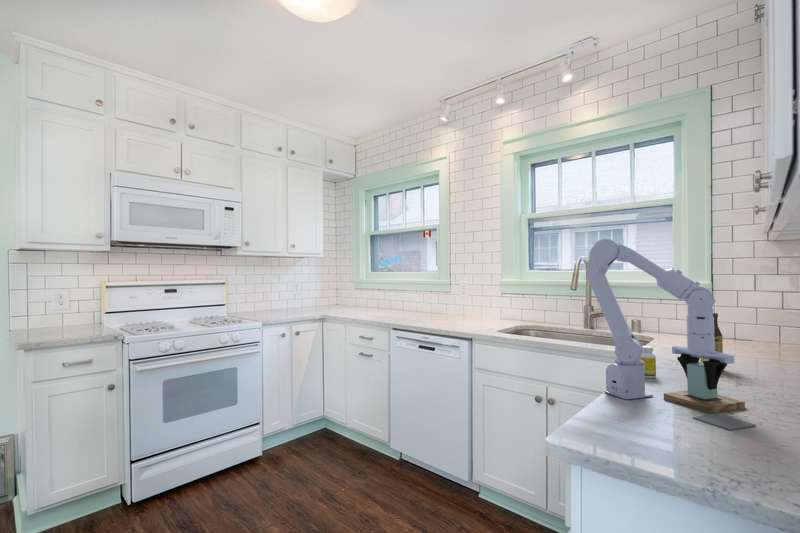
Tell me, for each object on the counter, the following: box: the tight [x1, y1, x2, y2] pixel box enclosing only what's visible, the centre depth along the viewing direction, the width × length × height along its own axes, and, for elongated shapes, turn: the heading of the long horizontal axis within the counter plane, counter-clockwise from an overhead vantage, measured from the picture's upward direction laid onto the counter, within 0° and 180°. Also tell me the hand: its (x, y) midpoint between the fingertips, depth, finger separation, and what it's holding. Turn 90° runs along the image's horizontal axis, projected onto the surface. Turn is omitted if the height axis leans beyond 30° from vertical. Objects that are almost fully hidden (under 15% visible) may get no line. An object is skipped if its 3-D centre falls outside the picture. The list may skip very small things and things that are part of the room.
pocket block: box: [663, 389, 746, 414], centre depth 104 cm, size 12×12×2 cm
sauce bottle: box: [700, 312, 724, 363], centre depth 142 cm, size 7×6×20 cm
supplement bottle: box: [641, 345, 657, 379], centre depth 132 cm, size 5×5×10 cm
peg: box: [686, 362, 718, 399], centre depth 104 cm, size 4×4×8 cm
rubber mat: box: [692, 412, 757, 431], centre depth 90 cm, size 8×8×1 cm
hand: (702, 386), depth 104 cm, fingers closed on peg, 4 cm apart
